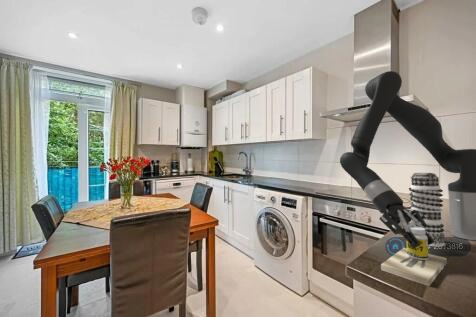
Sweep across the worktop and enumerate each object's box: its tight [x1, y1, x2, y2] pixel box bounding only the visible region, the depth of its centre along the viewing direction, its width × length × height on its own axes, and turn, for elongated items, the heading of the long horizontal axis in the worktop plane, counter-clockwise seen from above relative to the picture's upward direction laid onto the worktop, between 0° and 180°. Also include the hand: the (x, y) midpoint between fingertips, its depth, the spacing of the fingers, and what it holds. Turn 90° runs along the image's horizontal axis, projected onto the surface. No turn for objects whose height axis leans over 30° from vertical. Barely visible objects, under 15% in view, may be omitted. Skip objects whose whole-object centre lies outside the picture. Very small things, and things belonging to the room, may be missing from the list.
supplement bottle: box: [405, 226, 429, 260], centre depth 61 cm, size 5×5×8 cm
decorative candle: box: [408, 172, 446, 248], centre depth 76 cm, size 9×9×25 cm
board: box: [380, 247, 448, 287], centre depth 59 cm, size 18×10×2 cm, turn 126°
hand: (424, 244), depth 59 cm, fingers closed on supplement bottle, 4 cm apart
